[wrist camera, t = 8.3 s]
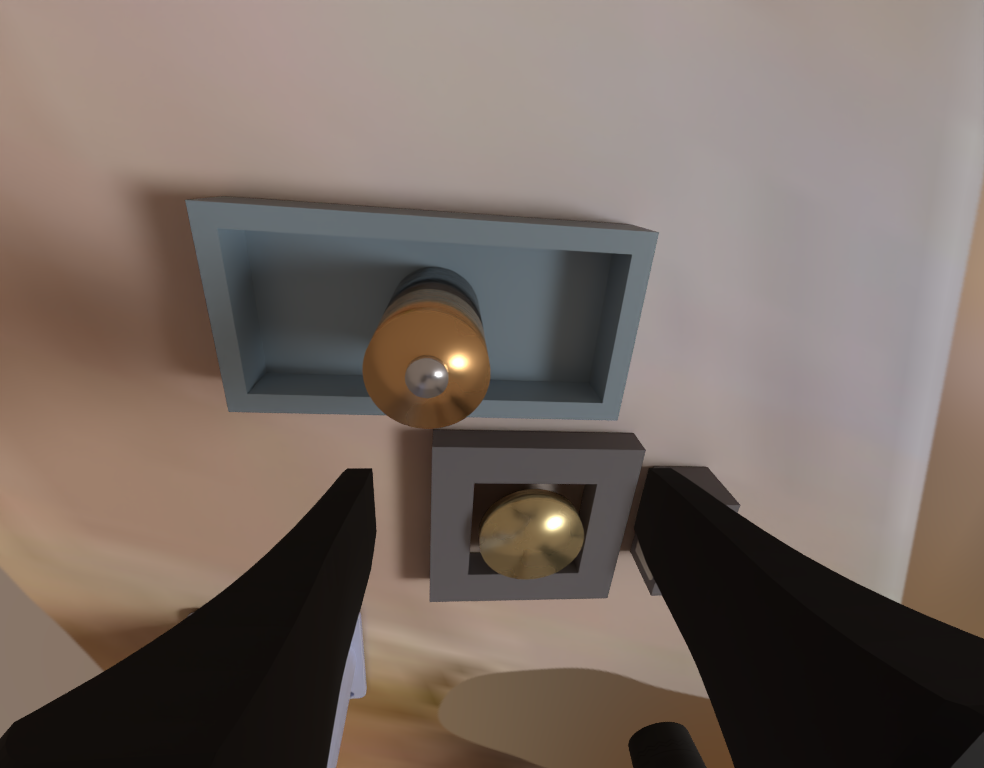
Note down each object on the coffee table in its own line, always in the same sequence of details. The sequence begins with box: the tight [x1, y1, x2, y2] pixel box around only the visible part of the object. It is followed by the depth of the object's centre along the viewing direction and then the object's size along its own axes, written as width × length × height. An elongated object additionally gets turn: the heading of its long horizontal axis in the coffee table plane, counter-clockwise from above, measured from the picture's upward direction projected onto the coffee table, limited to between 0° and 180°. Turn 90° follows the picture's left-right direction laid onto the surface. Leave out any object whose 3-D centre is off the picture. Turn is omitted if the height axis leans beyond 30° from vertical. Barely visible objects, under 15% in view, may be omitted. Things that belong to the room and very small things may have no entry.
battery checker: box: [430, 430, 740, 602], centre depth 23 cm, size 14×10×3 cm
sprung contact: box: [479, 489, 584, 579], centre depth 22 cm, size 5×5×1 cm
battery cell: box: [362, 267, 490, 429], centre depth 15 cm, size 4×4×6 cm
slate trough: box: [185, 196, 659, 420], centre depth 18 cm, size 16×8×3 cm, turn 86°
